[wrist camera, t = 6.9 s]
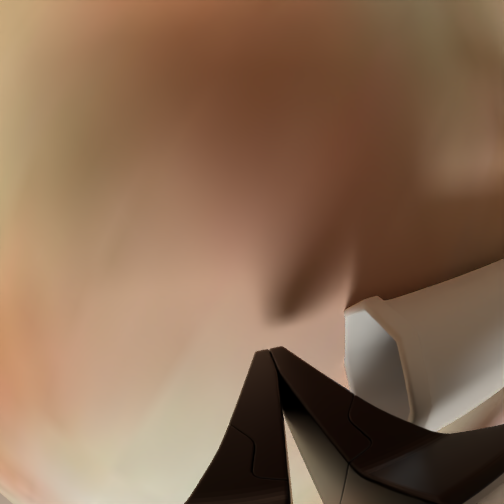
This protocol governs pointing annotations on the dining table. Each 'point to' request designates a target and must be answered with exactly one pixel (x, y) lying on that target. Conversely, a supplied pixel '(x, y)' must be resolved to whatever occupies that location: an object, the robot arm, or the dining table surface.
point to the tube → (429, 348)
